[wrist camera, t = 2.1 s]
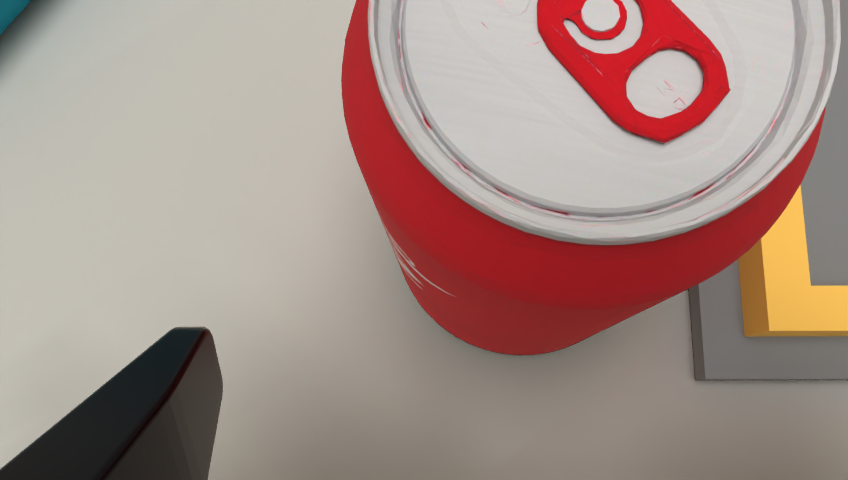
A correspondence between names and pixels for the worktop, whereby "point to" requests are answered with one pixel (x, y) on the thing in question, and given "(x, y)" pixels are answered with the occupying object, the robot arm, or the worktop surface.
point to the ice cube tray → (10, 11)
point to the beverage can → (579, 149)
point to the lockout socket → (788, 275)
